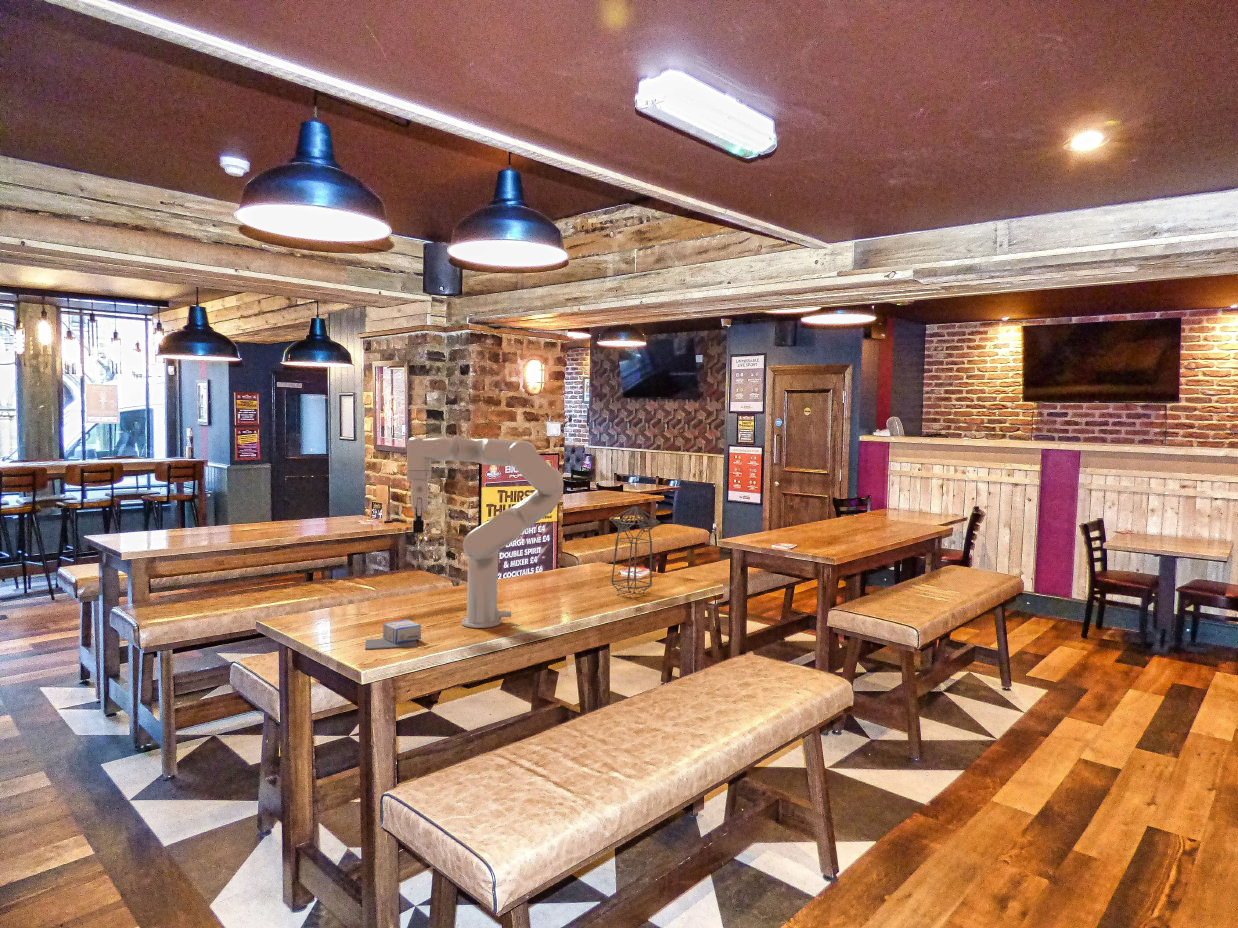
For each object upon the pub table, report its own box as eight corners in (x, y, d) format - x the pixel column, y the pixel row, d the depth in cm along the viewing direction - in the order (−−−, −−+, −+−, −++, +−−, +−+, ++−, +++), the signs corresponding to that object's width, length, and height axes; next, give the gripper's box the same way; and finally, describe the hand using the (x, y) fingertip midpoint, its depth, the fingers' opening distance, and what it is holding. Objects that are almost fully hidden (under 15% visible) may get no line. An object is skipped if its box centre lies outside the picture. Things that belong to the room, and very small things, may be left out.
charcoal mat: (415, 638, 215) (415, 636, 215) (416, 646, 207) (417, 645, 207) (366, 640, 211) (366, 639, 211) (365, 649, 202) (365, 648, 202)
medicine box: (407, 618, 218) (421, 624, 212) (407, 633, 219) (421, 639, 212) (382, 623, 213) (396, 628, 207) (382, 638, 213) (396, 644, 207)
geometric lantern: (629, 589, 293) (634, 503, 292) (659, 597, 282) (664, 508, 281) (602, 594, 282) (606, 505, 280) (631, 602, 271) (636, 509, 269)
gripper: (432, 477, 226) (431, 535, 227) (429, 474, 240) (429, 529, 241) (407, 477, 224) (406, 536, 224) (406, 474, 238) (405, 530, 239)
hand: (418, 532), depth 233 cm, fingers closed
